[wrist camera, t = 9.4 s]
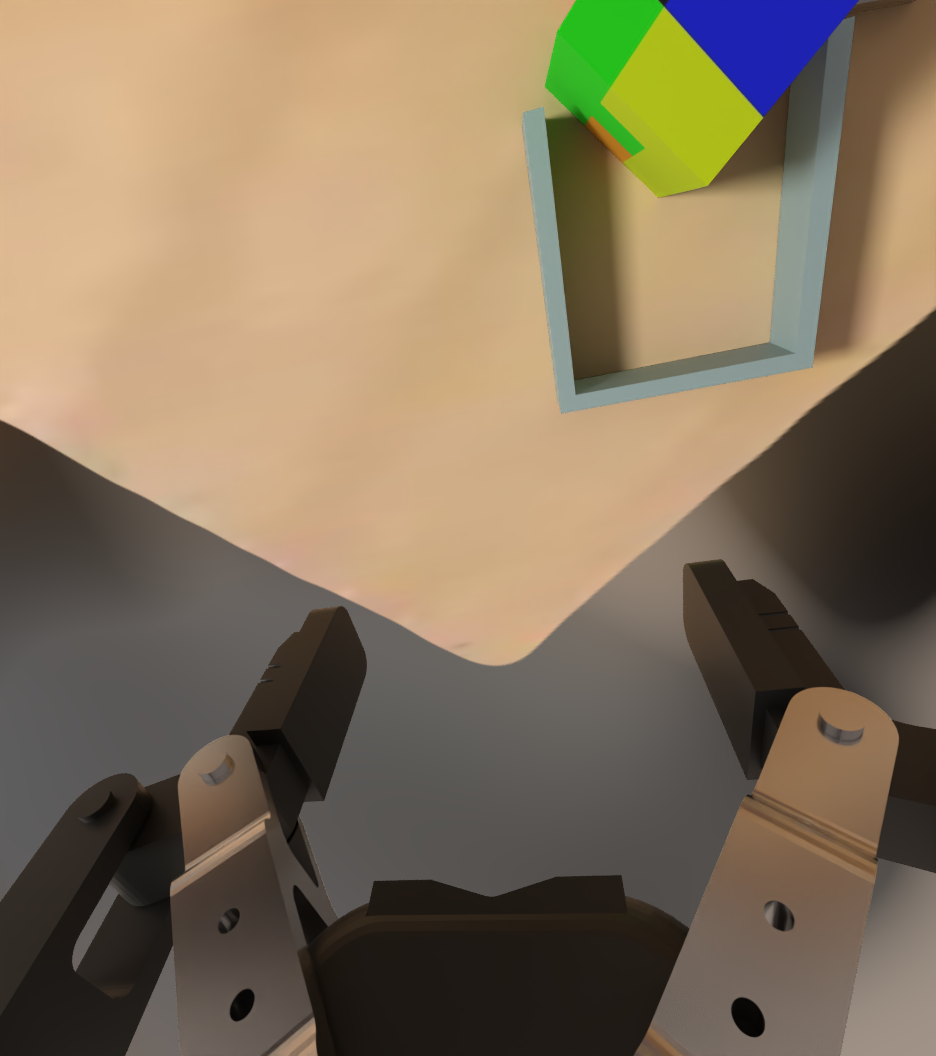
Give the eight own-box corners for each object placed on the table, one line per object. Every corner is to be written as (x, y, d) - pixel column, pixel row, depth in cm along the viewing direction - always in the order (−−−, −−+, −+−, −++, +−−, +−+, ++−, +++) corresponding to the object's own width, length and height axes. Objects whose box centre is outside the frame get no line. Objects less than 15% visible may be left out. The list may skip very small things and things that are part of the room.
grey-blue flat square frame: (522, 125, 32) (523, 112, 29) (815, 41, 29) (855, 15, 26) (557, 398, 41) (561, 413, 38) (785, 355, 38) (812, 367, 35)
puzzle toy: (786, 32, 29) (899, -50, 21) (657, 197, 34) (707, 186, 25) (666, -112, 27) (738, -275, 18) (544, 87, 31) (557, 31, 23)
